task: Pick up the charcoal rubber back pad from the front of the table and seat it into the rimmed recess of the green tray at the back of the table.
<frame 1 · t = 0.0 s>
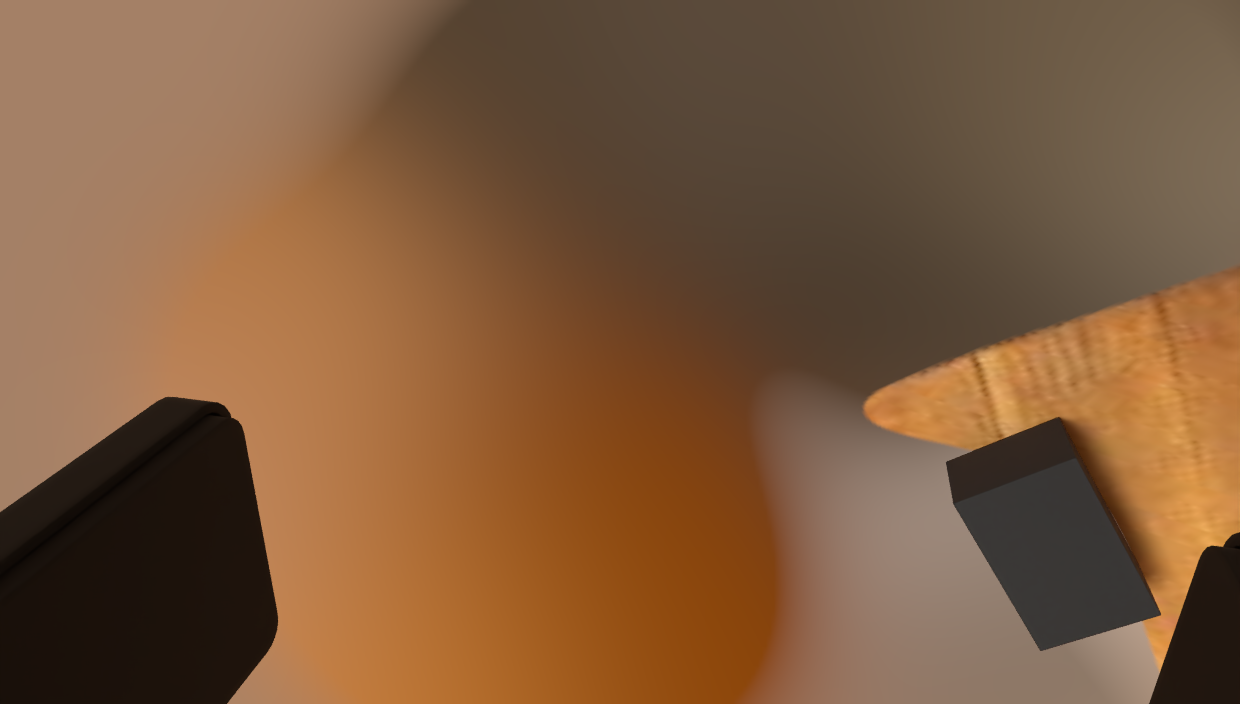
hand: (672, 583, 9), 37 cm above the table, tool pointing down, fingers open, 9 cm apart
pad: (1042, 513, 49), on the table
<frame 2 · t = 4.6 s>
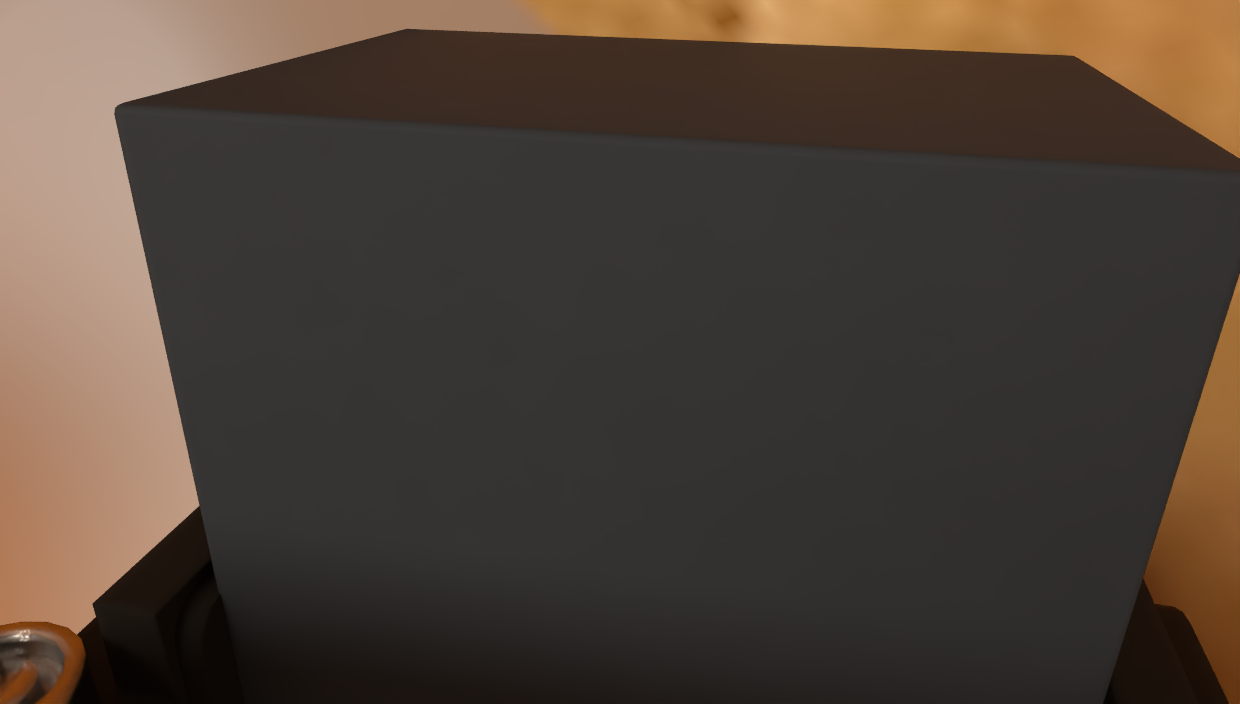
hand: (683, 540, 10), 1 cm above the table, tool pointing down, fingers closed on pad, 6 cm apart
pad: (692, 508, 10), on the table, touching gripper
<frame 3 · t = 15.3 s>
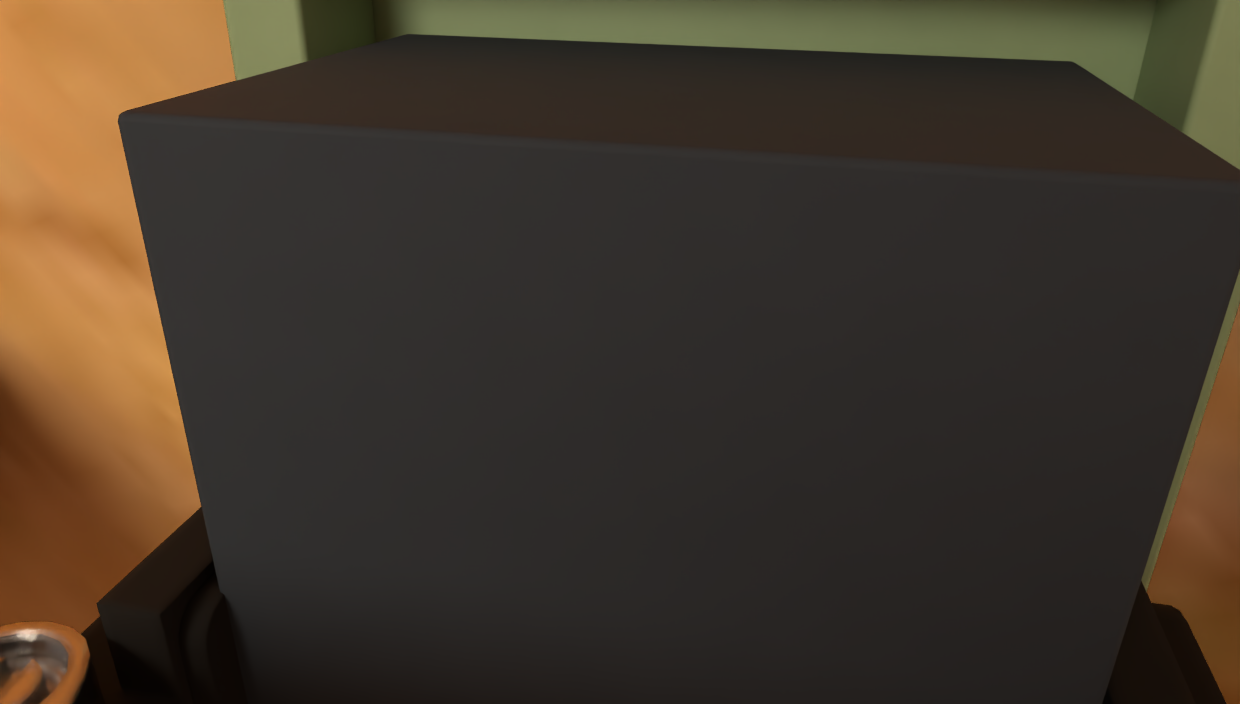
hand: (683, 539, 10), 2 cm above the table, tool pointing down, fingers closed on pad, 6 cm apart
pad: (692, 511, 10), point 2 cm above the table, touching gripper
green tray: (710, 435, 12), on the table
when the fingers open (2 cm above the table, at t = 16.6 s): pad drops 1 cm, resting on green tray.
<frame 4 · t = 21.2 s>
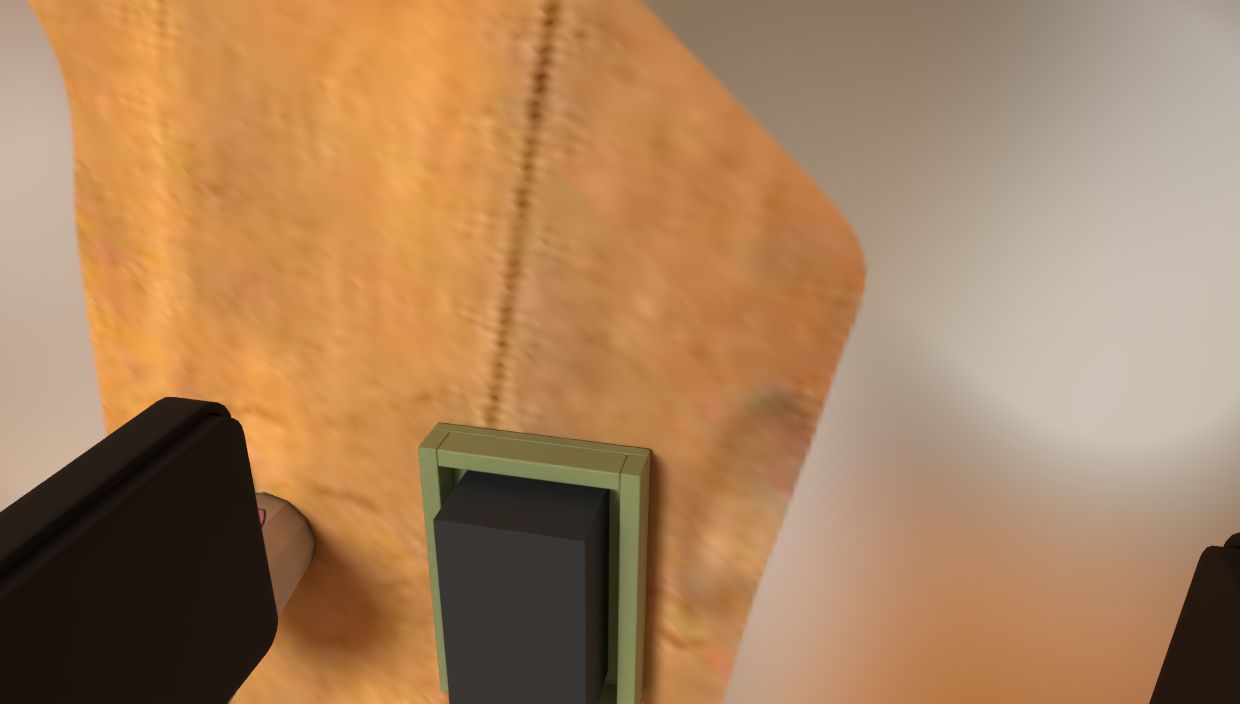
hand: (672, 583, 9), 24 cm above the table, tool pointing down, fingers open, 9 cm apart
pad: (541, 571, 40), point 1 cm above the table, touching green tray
cup: (273, 530, 44), on the table
green tray: (545, 563, 41), on the table
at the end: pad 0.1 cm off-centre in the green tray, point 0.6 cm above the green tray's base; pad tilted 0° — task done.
